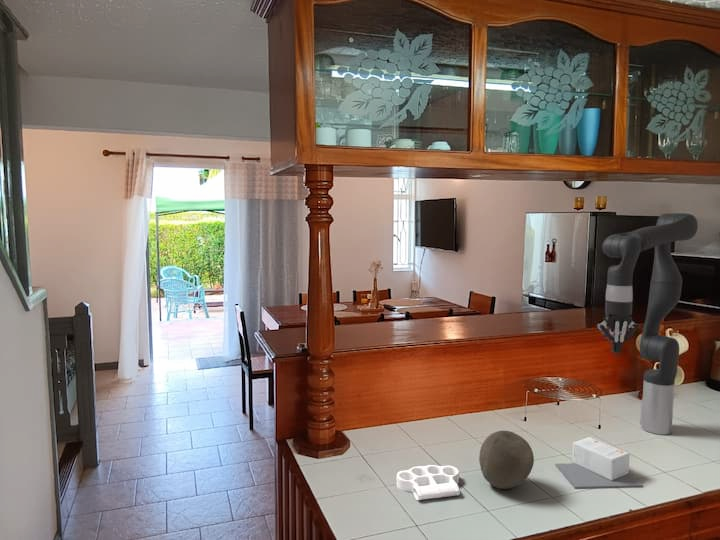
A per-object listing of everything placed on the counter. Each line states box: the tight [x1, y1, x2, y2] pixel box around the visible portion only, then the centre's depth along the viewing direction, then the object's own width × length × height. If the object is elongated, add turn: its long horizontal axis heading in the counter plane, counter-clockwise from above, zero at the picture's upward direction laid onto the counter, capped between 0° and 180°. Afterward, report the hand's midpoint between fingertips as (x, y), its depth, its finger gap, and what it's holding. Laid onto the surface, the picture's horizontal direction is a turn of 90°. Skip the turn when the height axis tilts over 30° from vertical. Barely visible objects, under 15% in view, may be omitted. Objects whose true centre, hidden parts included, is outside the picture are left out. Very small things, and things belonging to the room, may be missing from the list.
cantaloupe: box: [478, 430, 535, 490], centre depth 140 cm, size 14×14×15 cm
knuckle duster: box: [396, 464, 461, 501], centre depth 141 cm, size 3×18×15 cm
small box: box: [571, 436, 630, 481], centre depth 149 cm, size 8×6×13 cm
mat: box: [554, 462, 644, 489], centre depth 145 cm, size 13×19×1 cm
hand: (616, 352), depth 160 cm, fingers closed
